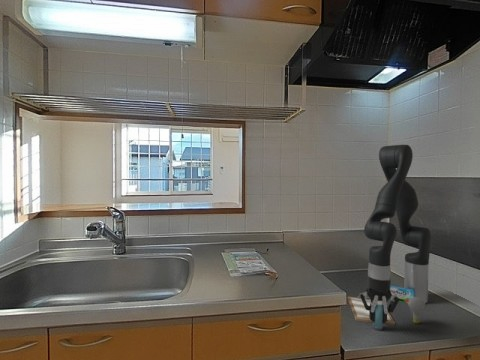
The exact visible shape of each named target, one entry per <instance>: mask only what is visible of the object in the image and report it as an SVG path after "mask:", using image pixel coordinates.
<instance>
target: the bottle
mask: <svg viewBox="0 0 480 360" xmlns="http://www.w3.org/2000/svg"><path fill="white" fill-rule="evenodd" d="M374 313H375V318H374V322H373V324H372V329H374V330H375V331H378V332H382V331H383V330H384V329H383V328H384V324H383V301H379V300H377V303H376V307H375V310H374Z"/></svg>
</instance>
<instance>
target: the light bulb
mask: <svg viewBox="0 0 480 360" xmlns="http://www.w3.org/2000/svg"><path fill="white" fill-rule="evenodd" d="M408 307H409V309H410V311H411V312H412V318H413V319H412V321H413V323H414V324H420V318H421V315H422V313H423V312H424V311H425V308H426V303H424V301H423V300H422V299H420V298H418V297H412V298H410V300H409V302H408Z"/></svg>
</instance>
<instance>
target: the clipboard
mask: <svg viewBox="0 0 480 360" xmlns="http://www.w3.org/2000/svg"><path fill="white" fill-rule="evenodd" d="M366 297H367V298H366V299H365V300H366V303H367V305H368V306H370V300H371V299H370V298H369V296H366ZM347 300H348V303H349V306H350V309H351V311H352V314H353V317H354V320H355V321H357V322H365V323H373V322H372V321H371V320H370V317H369V310H366V309H365V307H364V304H363V302H362V300H361V297H360V295H357V297H355V296H347ZM383 325H393V326H396V322H395V321H394V319H393V317H392V316H391V314H390V312H389V313H388V314H387V322H385V323H383Z"/></svg>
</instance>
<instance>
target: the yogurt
mask: <svg viewBox="0 0 480 360" xmlns="http://www.w3.org/2000/svg"><path fill="white" fill-rule="evenodd" d="M390 292H391V294H392V295H396V296H397V297H398V298H399V302H398V303H403V304H406V305H407V304H408V302H409V300H410V298H412V297H414V290H412V289H406V288H404V287H399V286H395V285H390ZM388 301H391V298H390V299H389V300H388ZM408 305H409V304H408Z"/></svg>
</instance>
